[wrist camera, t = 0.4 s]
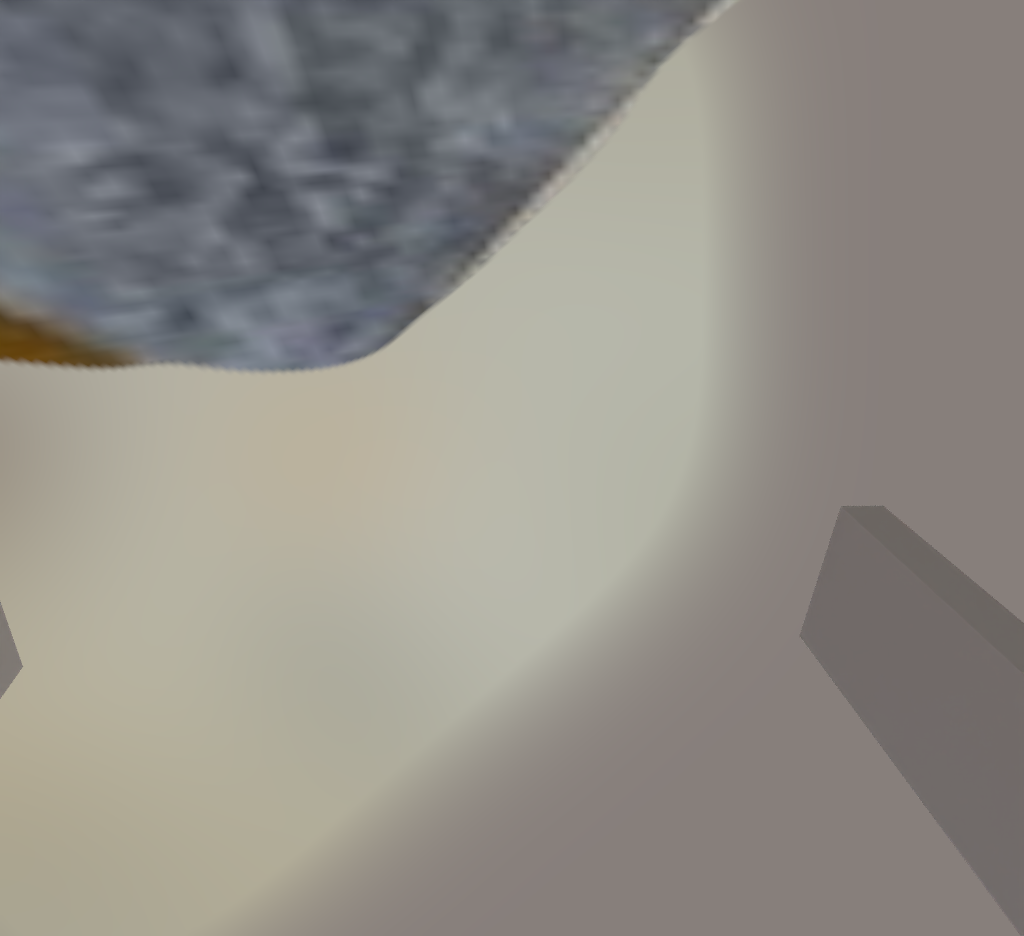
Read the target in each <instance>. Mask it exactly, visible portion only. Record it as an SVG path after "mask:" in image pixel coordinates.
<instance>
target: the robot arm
mask: <svg viewBox="0 0 1024 936" xmlns="http://www.w3.org/2000/svg"><path fill="white" fill-rule="evenodd" d="M800 637H801V639H802V640H803V641H804V643H805V644H806V645H807V647H808V648H809V649H810V651H811V652H812V653H813V655H814V656H815V658H816V659H817V660H818V661H819V663H820V664H821V666H822V667H823V668H824V670H825V671H826V672H827V674H828V675H829V677H830V678H831V679H832V681H833V682H834V683H835V685H836V686H837V687H838V689H839V690H840V691H841V693H842V694H843V696H844V697H845V698H846V700H847V701H848V702H849V704H850V705H851V706H852V708H853V709H854V710H855V712H856V713H857V714H858V716H859V717H860V719H861V720H862V721H863V723H864V724H865V725H866V727H867V728H868V729H869V731H870V732H871V733H872V735H873V736H874V738H875V739H876V740H877V741H878V743H879V744H880V746H881V747H882V748H883V750H884V751H885V752H886V754H887V755H888V757H889V758H890V759H891V761H892V762H893V763H894V765H895V766H896V767H897V769H898V770H899V771H900V773H901V774H902V776H903V777H904V778H905V779H906V781H907V782H908V784H909V785H910V786H911V788H912V789H913V790H914V792H915V793H916V794H917V796H918V797H919V799H920V800H921V801H922V803H923V804H924V805H925V807H926V808H927V809H928V811H929V812H930V813H931V815H932V816H933V818H934V819H935V820H936V822H937V823H938V824H939V826H940V827H941V828H942V830H943V831H944V832H945V834H946V835H947V836H948V838H949V839H950V841H951V842H952V843H953V845H954V846H955V847H956V849H957V850H958V851H959V853H960V854H961V855H962V857H963V858H964V860H965V861H966V862H967V864H968V865H969V866H970V868H971V869H972V870H973V872H974V873H975V874H976V876H977V877H978V878H979V880H980V881H981V883H982V884H983V885H984V887H985V888H986V889H987V891H988V892H989V893H990V895H991V896H992V897H993V899H994V900H995V902H996V903H997V904H998V906H999V907H1000V908H1001V910H1002V911H1003V912H1004V914H1005V915H1006V916H1007V918H1008V919H1009V920H1010V922H1011V923H1012V925H1013V926H1014V927H1015V929H1016V930H1017V931H1018V933H1019V934H1020V935H1021V936H1024V623H1023V622H1022V621H1021V620H1019V619H1018V618H1017V617H1016V616H1015V615H1013V614H1012V613H1011V612H1010V611H1009V610H1008V609H1006V608H1005V607H1004V606H1003V605H1002V604H1000V603H999V602H998V601H997V600H995V599H994V598H993V597H992V596H991V595H990V594H988V593H987V592H986V591H985V590H984V589H982V588H981V587H980V586H979V585H978V584H976V583H975V582H974V581H973V580H971V579H970V578H969V577H968V576H967V575H965V574H964V573H963V572H962V571H961V570H960V569H958V568H957V567H956V566H955V565H954V564H952V563H951V562H950V561H949V560H947V559H946V558H945V557H944V556H943V555H942V554H940V553H939V552H938V551H937V550H936V549H934V548H933V547H932V546H931V545H930V544H928V543H927V542H926V541H925V540H923V539H922V538H921V537H920V536H919V535H918V534H916V533H915V532H914V531H913V530H911V529H910V528H909V527H908V526H907V525H906V524H904V523H903V522H902V521H901V520H900V519H898V518H897V517H896V516H895V515H894V514H892V513H891V512H890V511H889V510H888V509H886V508H885V507H884V506H841V508H840V511H839V515H838V517H837V520H836V524H835V527H834V530H833V533H832V536H831V539H830V542H829V545H828V549H827V552H826V555H825V558H824V561H823V564H822V568H821V570H820V574H819V577H818V580H817V583H816V586H815V589H814V592H813V596H812V598H811V602H810V605H809V608H808V611H807V614H806V617H805V620H804V623H803V626H802V630H801V633H800ZM22 667H23V666H22V663H21V660H20V657H19V654H18V652H17V649H16V646H15V643H14V640H13V637H12V634H11V631H10V628H9V626H8V623H7V620H6V617H5V614H4V611H3V608H2V605H1V602H0V698H1V697H2V695H3V694H4V693H5V691H6V690H7V688H8V687H9V685H10V684H11V683H12V681H13V680H14V679H15V677H16V676H17V674H18V673H19V671H20V670H21V669H22Z"/></svg>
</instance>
